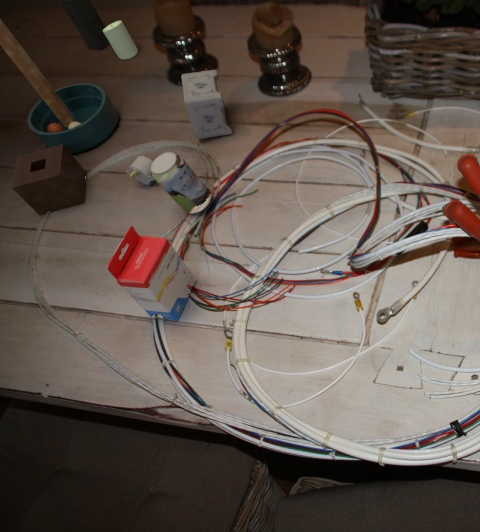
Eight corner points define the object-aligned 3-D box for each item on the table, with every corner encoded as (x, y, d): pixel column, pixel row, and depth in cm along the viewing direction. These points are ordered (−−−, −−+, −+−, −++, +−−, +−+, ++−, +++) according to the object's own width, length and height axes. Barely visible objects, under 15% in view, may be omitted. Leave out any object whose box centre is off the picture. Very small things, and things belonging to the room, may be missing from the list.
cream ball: (73, 140, 117) (64, 129, 114) (74, 131, 118) (65, 120, 116) (87, 136, 117) (79, 125, 114) (87, 127, 119) (79, 117, 116)
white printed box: (238, 133, 114) (219, 92, 105) (199, 144, 113) (177, 104, 104) (232, 105, 119) (214, 64, 111) (195, 115, 118) (174, 75, 110)
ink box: (178, 322, 89) (133, 272, 77) (151, 318, 90) (102, 269, 78) (198, 278, 93) (158, 225, 81) (172, 275, 94) (129, 223, 82)
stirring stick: (65, 127, 118) (-33, 4, 95) (65, 121, 119) (-31, -3, 96) (75, 124, 118) (-20, 1, 95) (75, 118, 119) (-18, -6, 96)
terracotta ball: (68, 135, 119) (55, 141, 118) (61, 125, 119) (47, 131, 118) (63, 128, 116) (49, 134, 115) (55, 117, 116) (42, 124, 115)
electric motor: (127, 187, 108) (113, 169, 104) (141, 170, 110) (129, 152, 106) (154, 194, 106) (142, 177, 102) (169, 177, 108) (157, 159, 104)
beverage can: (216, 212, 102) (189, 166, 92) (178, 223, 101) (146, 178, 91) (213, 188, 105) (187, 142, 95) (176, 199, 105) (146, 154, 95)
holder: (39, 215, 106) (11, 188, 99) (43, 184, 111) (17, 156, 104) (84, 203, 107) (59, 174, 100) (86, 172, 112) (63, 143, 105)
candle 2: (114, 56, 135) (95, 25, 128) (129, 45, 137) (112, 14, 130) (126, 62, 133) (108, 31, 126) (142, 50, 135) (125, 20, 128)
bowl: (42, 164, 114) (23, 143, 109) (48, 116, 124) (31, 94, 119) (119, 143, 116) (104, 121, 111) (120, 97, 125) (106, 75, 120)
